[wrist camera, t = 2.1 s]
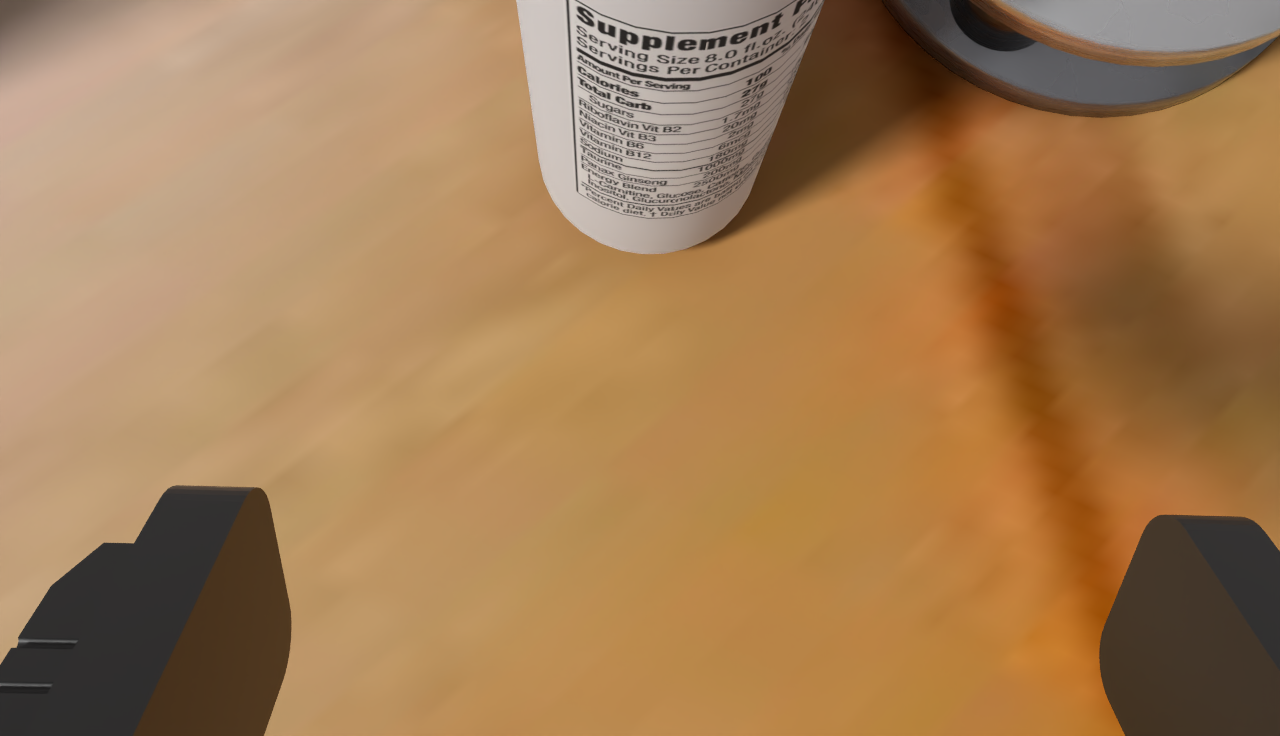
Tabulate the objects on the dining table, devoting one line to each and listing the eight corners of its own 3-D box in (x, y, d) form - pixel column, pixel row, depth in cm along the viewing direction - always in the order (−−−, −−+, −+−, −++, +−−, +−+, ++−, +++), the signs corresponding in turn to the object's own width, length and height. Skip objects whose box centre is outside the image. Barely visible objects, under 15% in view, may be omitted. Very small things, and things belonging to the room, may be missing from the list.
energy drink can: (735, 54, 30) (867, -453, 15) (769, 251, 29) (947, -93, 14) (528, 76, 30) (460, -422, 15) (554, 277, 28) (505, -49, 14)
